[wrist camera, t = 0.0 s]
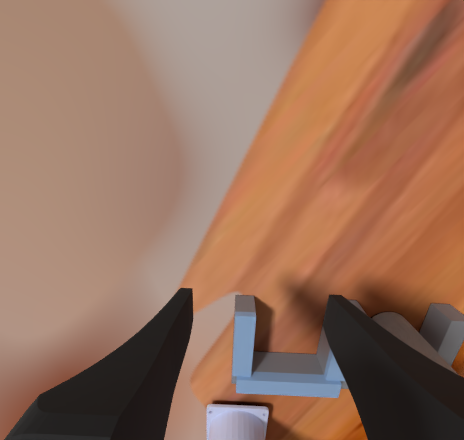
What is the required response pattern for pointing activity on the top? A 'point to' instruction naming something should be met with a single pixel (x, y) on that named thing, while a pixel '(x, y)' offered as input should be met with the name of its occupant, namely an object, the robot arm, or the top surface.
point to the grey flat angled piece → (433, 328)
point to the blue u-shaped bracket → (277, 381)
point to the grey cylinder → (409, 336)
